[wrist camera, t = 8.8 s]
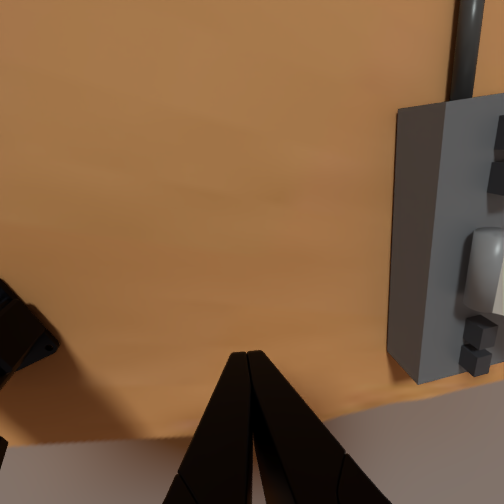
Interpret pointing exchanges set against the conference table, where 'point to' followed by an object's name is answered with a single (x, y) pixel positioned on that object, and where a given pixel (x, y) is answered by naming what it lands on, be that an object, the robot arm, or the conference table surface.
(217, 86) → the conference table surface
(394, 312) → the breaker box
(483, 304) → the lever
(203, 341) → the conference table surface
